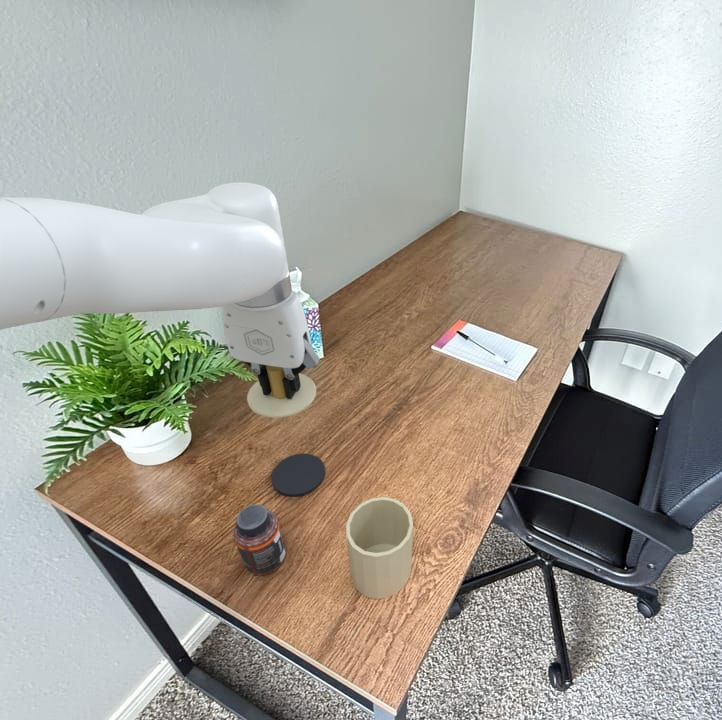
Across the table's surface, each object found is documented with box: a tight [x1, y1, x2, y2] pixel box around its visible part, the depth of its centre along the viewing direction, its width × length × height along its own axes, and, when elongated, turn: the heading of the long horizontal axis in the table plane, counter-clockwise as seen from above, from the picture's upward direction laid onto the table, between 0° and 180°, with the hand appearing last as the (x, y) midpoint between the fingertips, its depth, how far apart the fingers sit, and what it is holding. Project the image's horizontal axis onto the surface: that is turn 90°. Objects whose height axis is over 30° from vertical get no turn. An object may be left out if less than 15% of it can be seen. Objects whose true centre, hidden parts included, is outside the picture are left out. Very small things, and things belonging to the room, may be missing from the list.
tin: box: [345, 496, 414, 600], centre depth 68 cm, size 9×9×12 cm
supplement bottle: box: [232, 503, 287, 577], centre depth 68 cm, size 6×6×11 cm
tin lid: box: [246, 365, 317, 419], centre depth 70 cm, size 10×10×7 cm
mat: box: [270, 452, 326, 498], centre depth 83 cm, size 9×9×1 cm
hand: (281, 390), depth 71 cm, fingers closed on tin lid, 2 cm apart
